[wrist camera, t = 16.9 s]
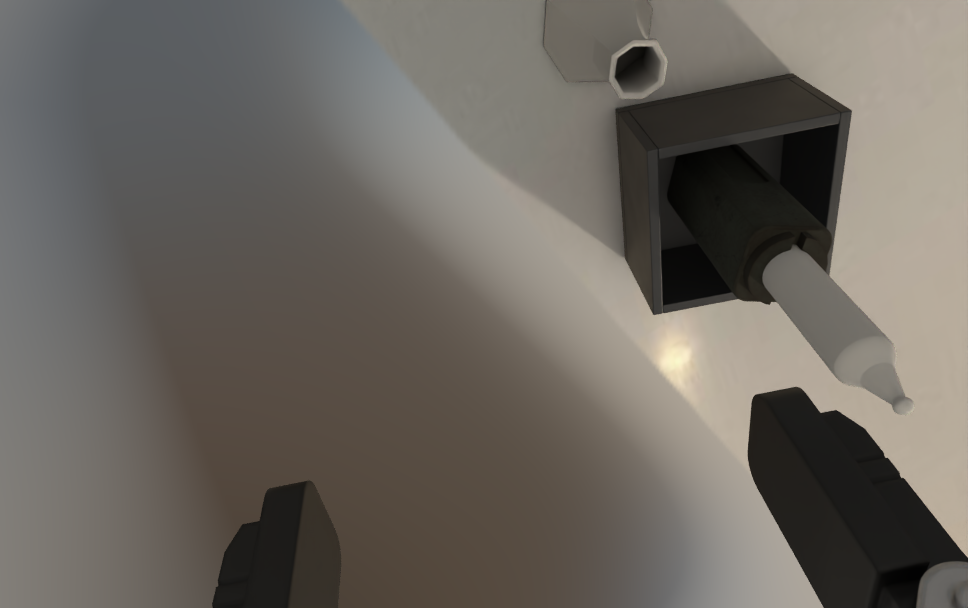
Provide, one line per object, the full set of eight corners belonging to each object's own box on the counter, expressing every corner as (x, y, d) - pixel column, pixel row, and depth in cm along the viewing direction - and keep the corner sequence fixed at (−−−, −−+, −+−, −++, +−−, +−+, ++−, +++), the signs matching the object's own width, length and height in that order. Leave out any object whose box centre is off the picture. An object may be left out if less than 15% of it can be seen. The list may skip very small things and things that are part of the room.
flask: (556, 97, 47) (586, 153, 39) (528, -12, 43) (555, 24, 34) (659, 62, 46) (713, 112, 38) (641, -52, 42) (697, -25, 34)
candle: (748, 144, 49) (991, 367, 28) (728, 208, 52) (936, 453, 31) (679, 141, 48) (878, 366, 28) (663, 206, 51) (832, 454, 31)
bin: (625, 259, 55) (653, 315, 48) (615, 108, 48) (646, 151, 41) (779, 229, 54) (828, 281, 48) (792, 72, 47) (852, 110, 41)
